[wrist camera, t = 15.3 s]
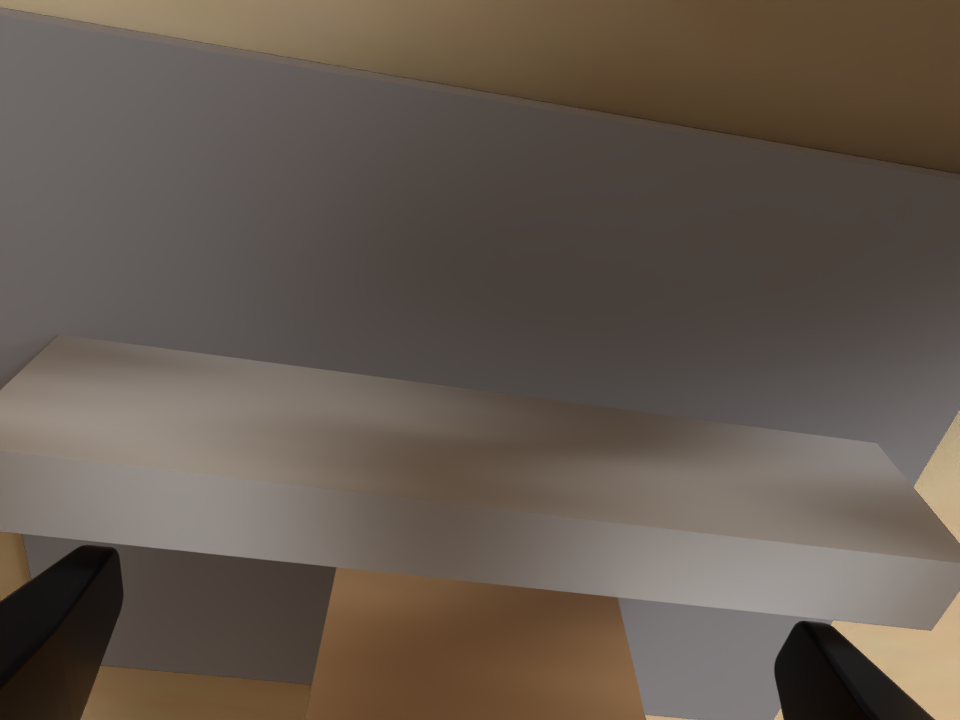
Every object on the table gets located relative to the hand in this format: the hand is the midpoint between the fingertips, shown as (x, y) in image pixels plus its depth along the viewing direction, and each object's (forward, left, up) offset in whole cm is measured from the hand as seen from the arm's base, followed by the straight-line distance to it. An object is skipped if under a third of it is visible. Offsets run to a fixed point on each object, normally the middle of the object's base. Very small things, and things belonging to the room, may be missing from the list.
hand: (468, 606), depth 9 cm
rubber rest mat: (0, 0, -3) cm, 3 cm away
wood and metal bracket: (0, +3, -2) cm, 3 cm away
